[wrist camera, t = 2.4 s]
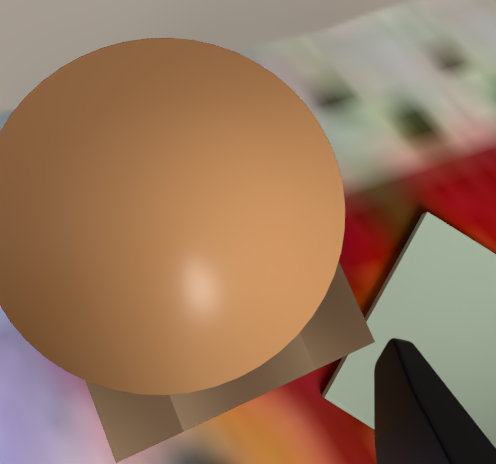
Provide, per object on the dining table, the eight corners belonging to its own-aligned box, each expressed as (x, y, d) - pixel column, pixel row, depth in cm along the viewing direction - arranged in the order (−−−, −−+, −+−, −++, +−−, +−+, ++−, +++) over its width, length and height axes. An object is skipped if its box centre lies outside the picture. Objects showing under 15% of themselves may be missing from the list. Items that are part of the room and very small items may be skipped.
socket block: (137, 426, 18) (116, 463, 14) (58, 218, 19) (17, 196, 15) (341, 333, 19) (375, 341, 15) (256, 142, 20) (267, 103, 16)
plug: (209, 345, 18) (199, 477, 5) (132, 285, 18) (-107, 238, 5) (267, 267, 19) (411, 175, 5) (192, 210, 19) (139, -27, 5)
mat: (509, 514, 18) (517, 519, 18) (321, 395, 18) (324, 398, 18) (596, 322, 20) (605, 322, 19) (422, 213, 20) (427, 211, 19)
